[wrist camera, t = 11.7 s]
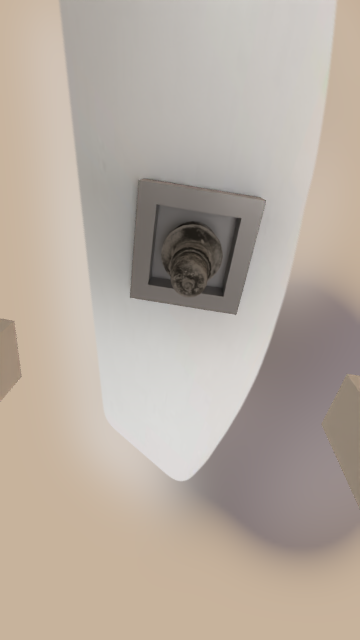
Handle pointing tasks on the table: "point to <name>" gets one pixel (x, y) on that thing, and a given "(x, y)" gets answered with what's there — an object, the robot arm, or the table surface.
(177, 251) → the dark grey tall piece
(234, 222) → the grey square tray
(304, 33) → the table surface
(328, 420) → the robot arm
